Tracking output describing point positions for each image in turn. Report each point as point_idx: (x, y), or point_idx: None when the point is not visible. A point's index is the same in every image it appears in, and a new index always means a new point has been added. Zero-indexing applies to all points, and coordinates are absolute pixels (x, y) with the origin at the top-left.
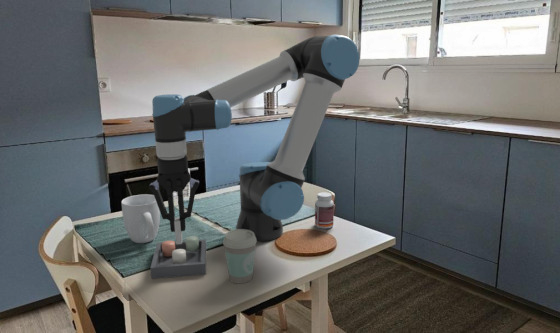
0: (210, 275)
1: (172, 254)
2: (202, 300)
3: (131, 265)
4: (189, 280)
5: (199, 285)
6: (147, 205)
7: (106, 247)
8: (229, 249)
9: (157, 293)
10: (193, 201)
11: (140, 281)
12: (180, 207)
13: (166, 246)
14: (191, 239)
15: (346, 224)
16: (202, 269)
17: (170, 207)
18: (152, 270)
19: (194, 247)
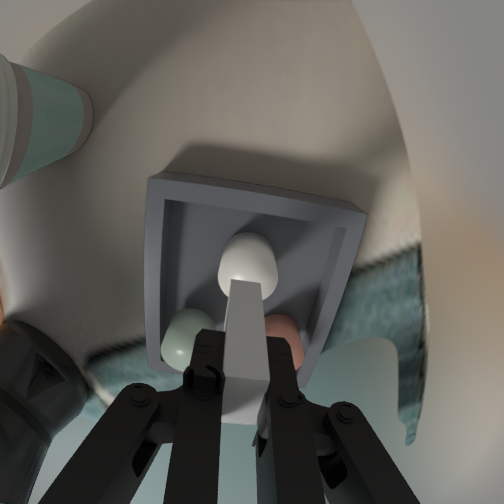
0: (148, 158)
1: (276, 269)
2: (202, 6)
3: (386, 309)
4: (225, 142)
5: (194, 95)
6: (327, 501)
7: (402, 400)
8: (14, 70)
9: (343, 93)
10: (51, 487)
11: (385, 197)
12: (198, 480)
13: (289, 339)
14: (187, 349)
15: None
16: (167, 175)
17: (303, 490)
18: (357, 209)
19: (182, 317)
